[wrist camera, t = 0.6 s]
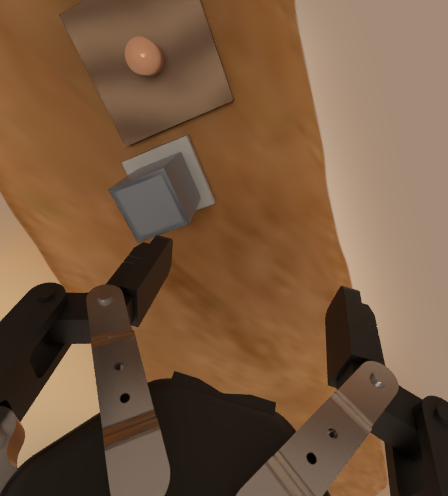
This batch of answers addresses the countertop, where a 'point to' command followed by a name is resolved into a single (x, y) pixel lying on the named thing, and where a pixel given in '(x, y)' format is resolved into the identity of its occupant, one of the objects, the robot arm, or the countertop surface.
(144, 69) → the pink rounded lump
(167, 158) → the grey upright block
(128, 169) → the rubber mat
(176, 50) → the walnut board
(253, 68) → the countertop surface
